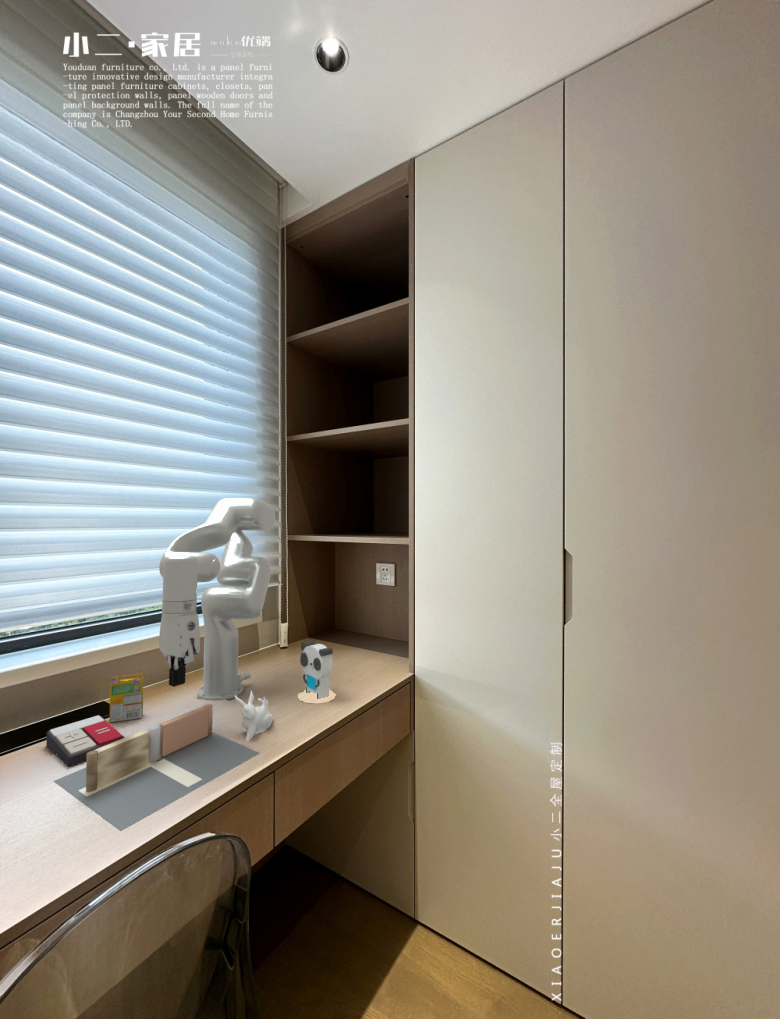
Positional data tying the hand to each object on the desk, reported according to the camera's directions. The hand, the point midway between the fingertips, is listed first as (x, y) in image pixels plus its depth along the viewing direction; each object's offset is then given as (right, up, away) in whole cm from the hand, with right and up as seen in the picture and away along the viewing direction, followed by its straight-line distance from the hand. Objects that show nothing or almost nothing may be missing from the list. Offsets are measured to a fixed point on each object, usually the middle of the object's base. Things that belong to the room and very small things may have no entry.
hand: (177, 684), depth 110 cm
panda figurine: (+29, -13, +26) cm, 41 cm away
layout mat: (+3, -13, -13) cm, 19 cm away
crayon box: (-17, -13, +9) cm, 23 cm away
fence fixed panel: (-4, -12, -18) cm, 22 cm away
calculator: (-18, -13, -5) cm, 23 cm away
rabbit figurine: (+17, -13, +3) cm, 22 cm away
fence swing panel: (+4, -12, -6) cm, 14 cm away
